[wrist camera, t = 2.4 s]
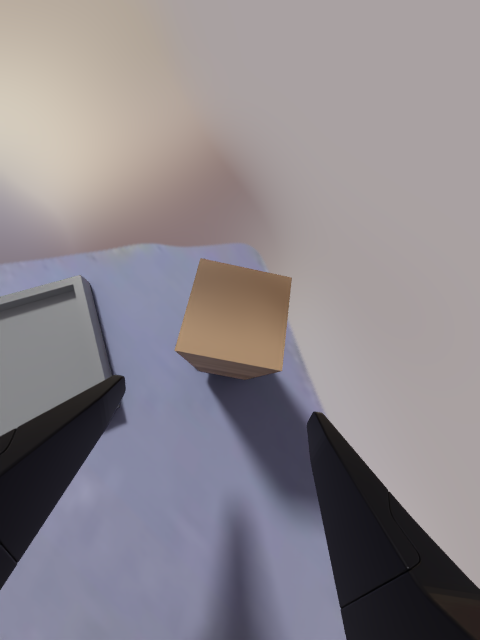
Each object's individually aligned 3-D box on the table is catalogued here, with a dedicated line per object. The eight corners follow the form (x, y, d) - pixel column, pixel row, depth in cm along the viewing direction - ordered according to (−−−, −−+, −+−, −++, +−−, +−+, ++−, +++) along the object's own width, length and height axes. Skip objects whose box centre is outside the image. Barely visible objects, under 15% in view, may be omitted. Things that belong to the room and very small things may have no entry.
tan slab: (255, 382, 21) (312, 377, 8) (187, 369, 20) (142, 344, 8) (261, 340, 22) (317, 283, 10) (197, 328, 22) (173, 252, 9)
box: (119, 407, 19) (111, 408, 17) (-63, 483, 16) (-91, 492, 14) (89, 282, 22) (80, 274, 21) (-67, 325, 19) (-89, 321, 18)
